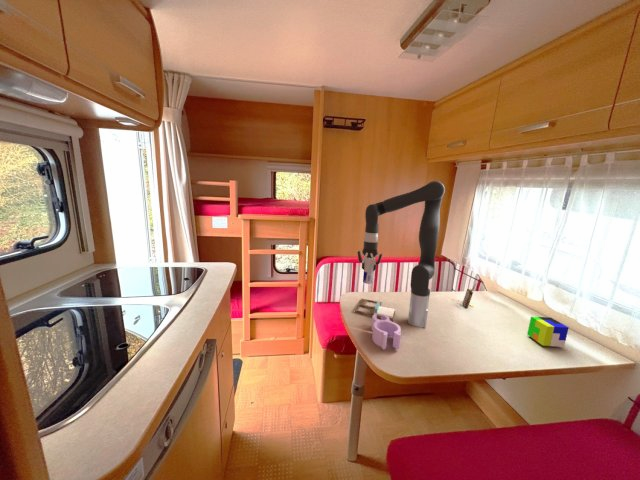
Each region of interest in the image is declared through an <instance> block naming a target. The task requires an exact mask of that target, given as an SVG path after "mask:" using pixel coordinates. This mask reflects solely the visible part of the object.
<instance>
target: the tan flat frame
mask: <svg viewBox="0 0 640 480" xmlns="http://www.w3.org/2000/svg"><path fill="white" fill-rule="evenodd" d="M367 301H368V302H367ZM371 302H372V303H371ZM377 302H380V306H381V307H382V301H377V300H373V299H368V298H361V299H360V301H359V302H358V304H357V306H356V307H355V309H354V312H353V313H354V314H358V315H363V316H368V317H373V315H374V310H375V306H371V305H366V304H367V303H371V304H375V305H376V304H377ZM360 308H364V309H368V310H371V312H368V311H363V310H359V309H360ZM395 315H396V310H394V314H393V318H389V319H390V321H392V322H394V319H395ZM377 319H381V316H380V315H377Z"/></svg>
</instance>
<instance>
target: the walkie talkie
mask: <svg viewBox="0 0 640 480" xmlns="http://www.w3.org/2000/svg"><path fill="white" fill-rule="evenodd" d="M476 285H477V282H475V284H474V286H473V287H472V288H467V289H466V291H465V294H464V297H463V300H460V299H457V301H459V302H460V303H462V305H463V307H464V309H468V308H469V306H471V307H472V308H474V309H475V306H474V305H472V304H471V300H472V296H473V294H474V292H473V290H474V289H475V287H476ZM451 300H454V301H456V298H451Z"/></svg>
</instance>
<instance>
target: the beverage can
mask: <svg viewBox="0 0 640 480" xmlns="http://www.w3.org/2000/svg"><path fill="white" fill-rule="evenodd" d="M374 259H376V256H375V257H374ZM373 268H374V261H373V258H369V257H368V258H367V257H366V259H365V263H364V270H363V279H362V282H363V283H364V284H366V285H371V284H373V283H374V276H375V270H374V271H373Z"/></svg>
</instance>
